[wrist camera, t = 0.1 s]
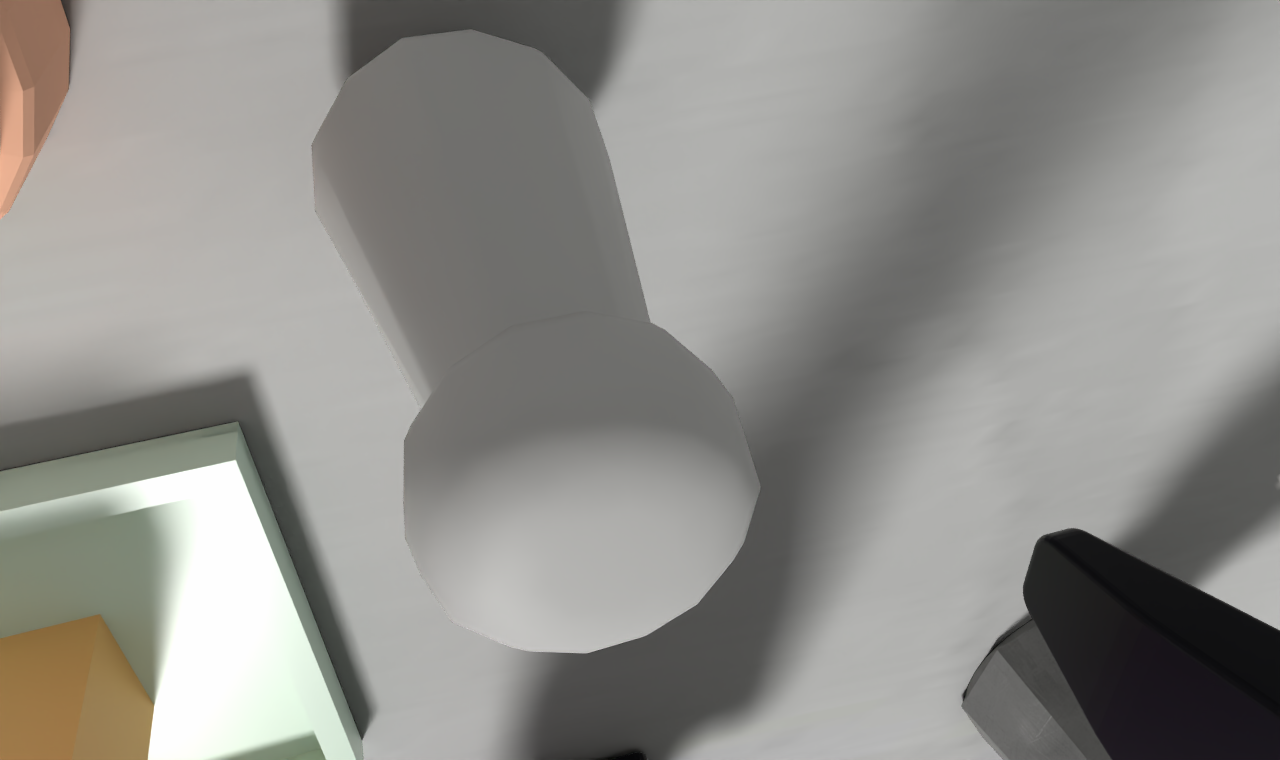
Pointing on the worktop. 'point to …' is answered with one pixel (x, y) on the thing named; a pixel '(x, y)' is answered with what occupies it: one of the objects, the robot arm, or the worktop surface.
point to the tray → (179, 593)
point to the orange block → (71, 696)
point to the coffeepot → (1028, 704)
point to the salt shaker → (527, 352)
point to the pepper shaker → (29, 85)
